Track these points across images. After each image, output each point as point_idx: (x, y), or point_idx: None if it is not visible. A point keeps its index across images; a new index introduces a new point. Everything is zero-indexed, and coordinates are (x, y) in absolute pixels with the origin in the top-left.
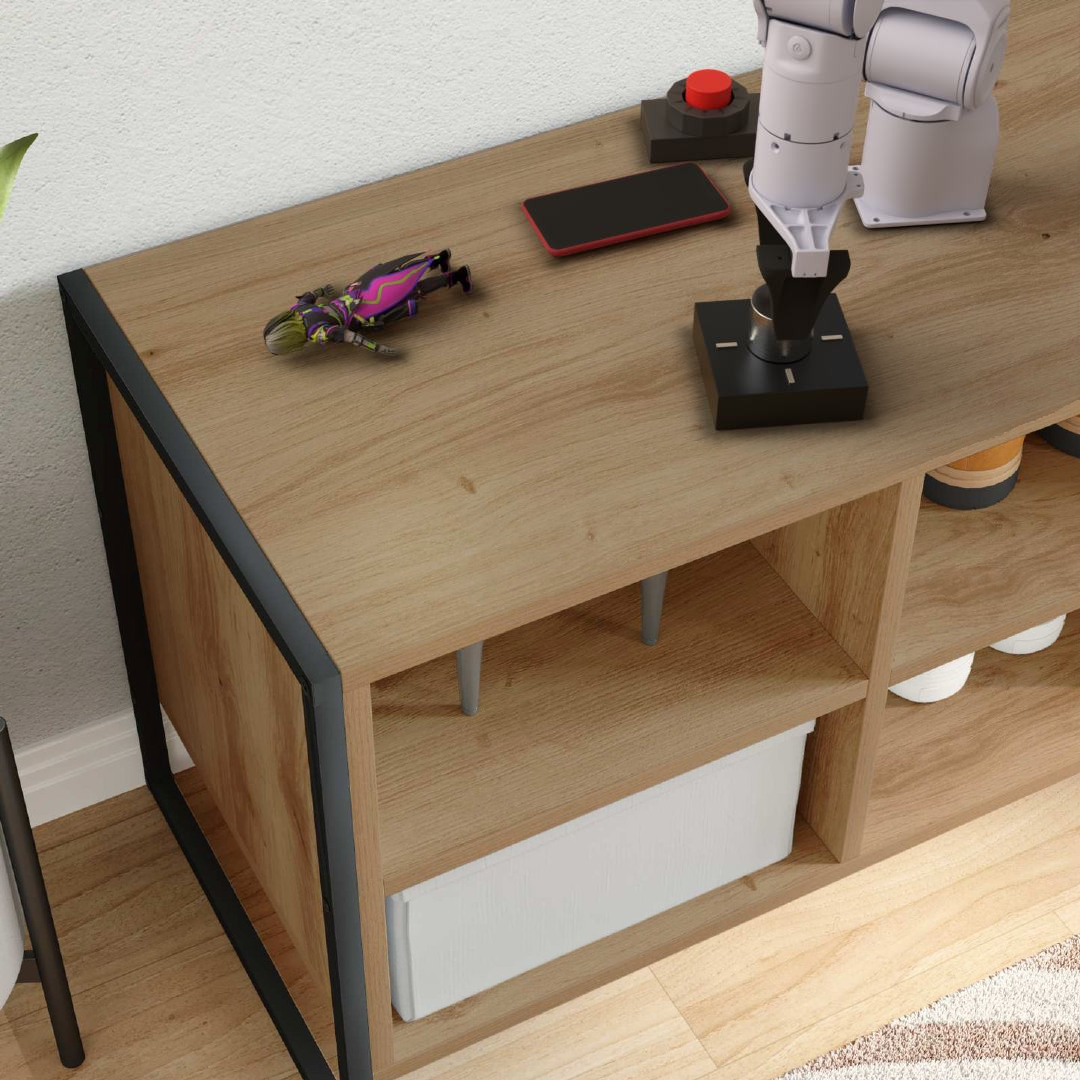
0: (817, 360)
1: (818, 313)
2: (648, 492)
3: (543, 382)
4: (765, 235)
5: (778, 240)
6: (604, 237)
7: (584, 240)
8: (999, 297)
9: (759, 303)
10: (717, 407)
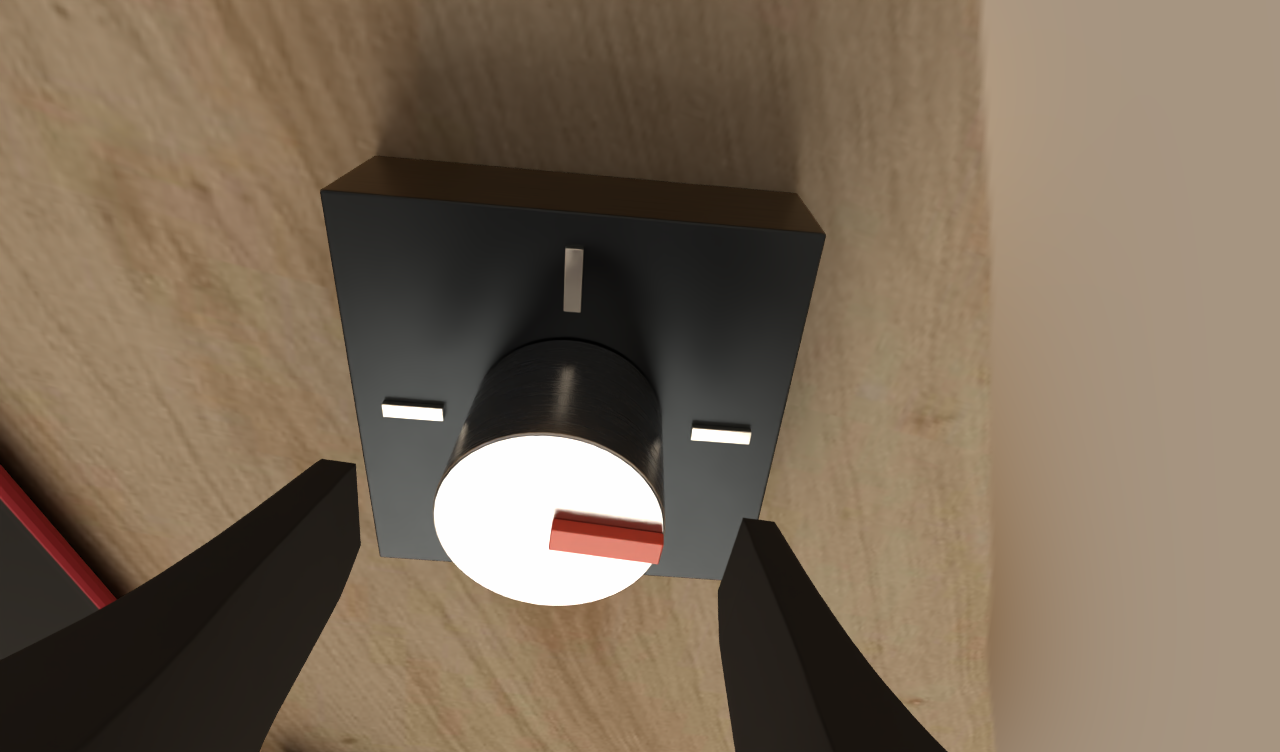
0: (668, 347)
1: (833, 615)
2: (855, 627)
3: (535, 703)
4: (292, 665)
5: (299, 606)
6: (82, 597)
7: None
8: None
9: (554, 591)
10: None
